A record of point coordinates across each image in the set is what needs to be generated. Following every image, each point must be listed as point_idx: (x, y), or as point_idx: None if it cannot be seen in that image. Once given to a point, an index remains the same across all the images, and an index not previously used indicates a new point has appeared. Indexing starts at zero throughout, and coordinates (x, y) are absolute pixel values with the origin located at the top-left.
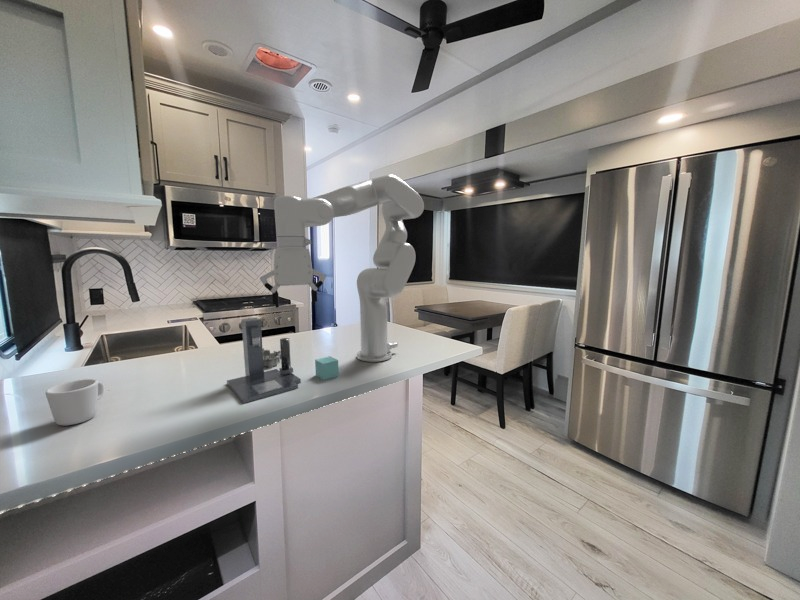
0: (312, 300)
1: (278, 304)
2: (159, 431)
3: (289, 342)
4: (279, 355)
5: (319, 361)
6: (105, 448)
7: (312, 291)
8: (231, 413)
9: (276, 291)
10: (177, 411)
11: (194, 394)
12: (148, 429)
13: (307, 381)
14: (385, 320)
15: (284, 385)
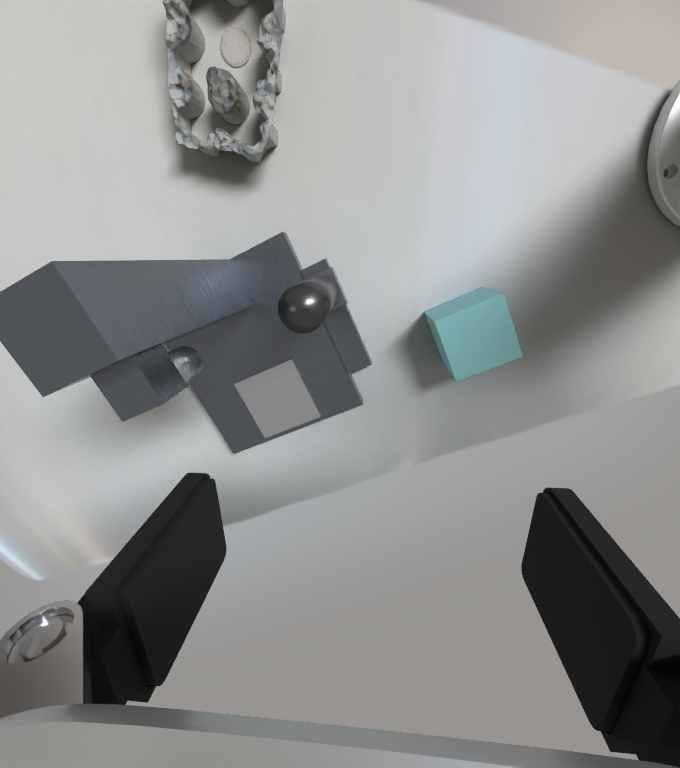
0: (543, 612)
1: (217, 566)
2: (122, 509)
3: (327, 307)
4: (274, 79)
5: (448, 350)
6: (71, 532)
7: (610, 748)
8: (226, 484)
9: (124, 698)
10: (107, 441)
11: None
12: (98, 496)
13: (392, 359)
14: None
15: (325, 400)
